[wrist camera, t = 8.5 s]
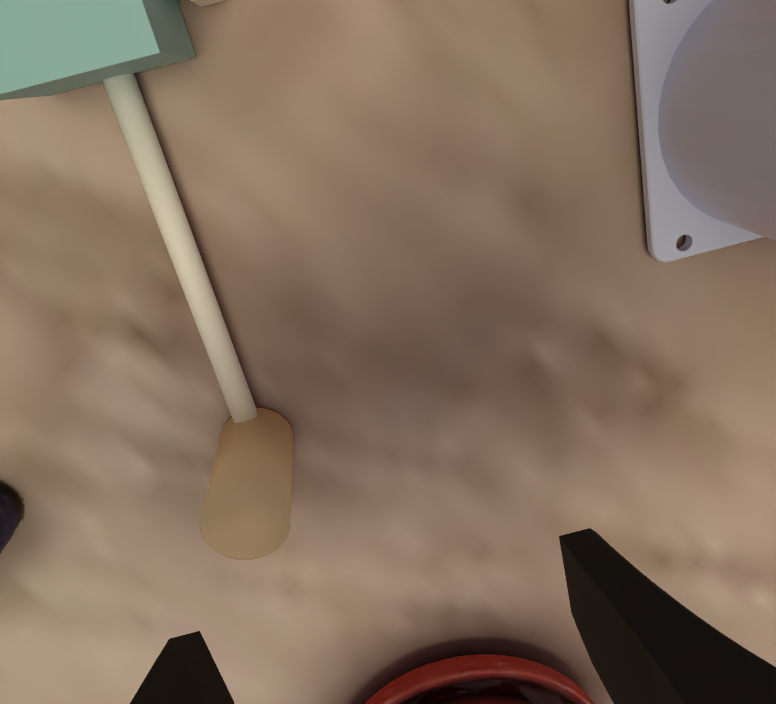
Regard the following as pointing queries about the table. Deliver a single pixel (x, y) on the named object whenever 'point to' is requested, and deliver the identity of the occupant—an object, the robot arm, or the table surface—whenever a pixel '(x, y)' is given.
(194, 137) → the table surface
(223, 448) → the toy mallet
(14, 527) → the flask
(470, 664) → the plant pot
